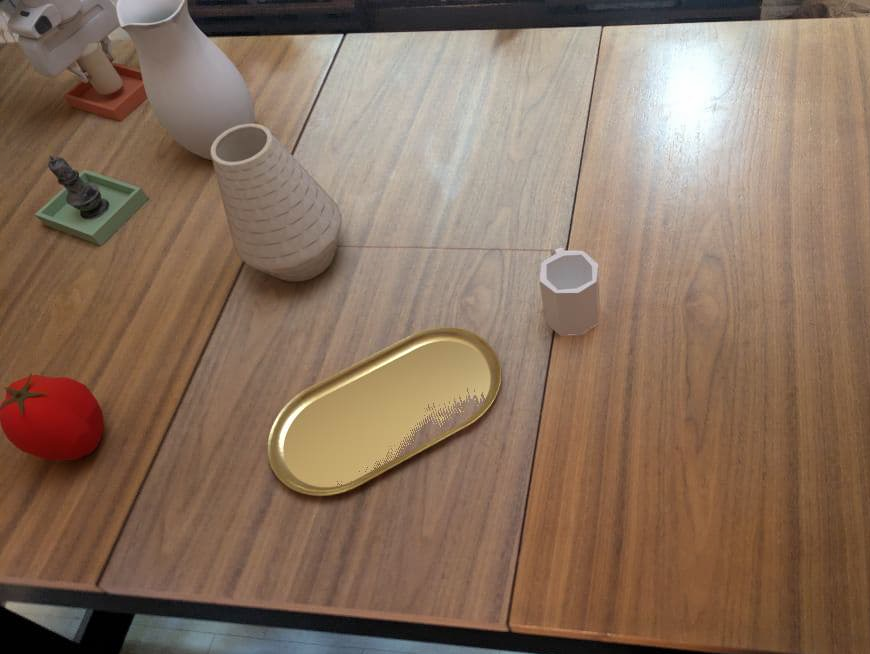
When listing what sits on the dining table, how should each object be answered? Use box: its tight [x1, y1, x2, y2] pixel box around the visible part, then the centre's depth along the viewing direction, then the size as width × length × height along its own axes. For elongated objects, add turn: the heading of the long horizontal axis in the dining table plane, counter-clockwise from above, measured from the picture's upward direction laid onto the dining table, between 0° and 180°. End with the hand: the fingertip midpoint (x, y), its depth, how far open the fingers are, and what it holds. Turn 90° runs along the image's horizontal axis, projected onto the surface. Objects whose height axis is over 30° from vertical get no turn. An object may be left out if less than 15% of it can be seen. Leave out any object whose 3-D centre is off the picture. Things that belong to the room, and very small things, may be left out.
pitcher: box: [115, 0, 256, 161], centre depth 126 cm, size 24×17×28 cm
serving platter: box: [267, 326, 503, 497], centre depth 101 cm, size 19×35×2 cm, turn 120°
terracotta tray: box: [62, 61, 148, 122], centre depth 147 cm, size 15×13×3 cm
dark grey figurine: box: [47, 155, 109, 220], centre depth 124 cm, size 6×6×12 cm
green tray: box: [34, 169, 149, 247], centre depth 128 cm, size 15×13×3 cm
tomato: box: [0, 372, 105, 461], centre depth 98 cm, size 12×12×13 cm
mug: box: [539, 247, 601, 337], centre depth 104 cm, size 12×9×10 cm
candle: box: [75, 43, 123, 95], centre depth 142 cm, size 6×6×10 cm
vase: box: [211, 123, 342, 283], centre depth 109 cm, size 17×17×23 cm
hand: (99, 70), depth 143 cm, fingers closed on candle, 5 cm apart
